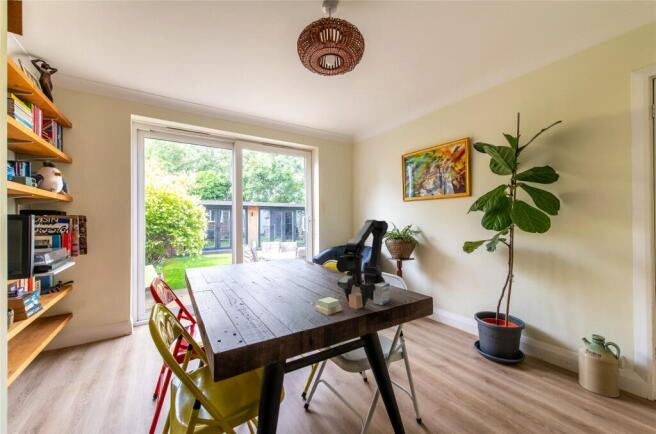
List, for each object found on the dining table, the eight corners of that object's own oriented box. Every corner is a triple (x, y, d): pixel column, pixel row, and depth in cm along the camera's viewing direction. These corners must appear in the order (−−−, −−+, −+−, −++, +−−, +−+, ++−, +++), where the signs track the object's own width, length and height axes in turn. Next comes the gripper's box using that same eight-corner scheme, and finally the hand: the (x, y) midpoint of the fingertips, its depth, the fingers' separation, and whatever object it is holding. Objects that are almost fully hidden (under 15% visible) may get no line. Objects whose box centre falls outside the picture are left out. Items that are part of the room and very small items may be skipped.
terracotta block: (356, 304, 119) (355, 292, 119) (363, 306, 116) (363, 294, 116) (349, 306, 116) (348, 294, 116) (356, 309, 113) (356, 296, 113)
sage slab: (329, 302, 117) (329, 296, 117) (339, 305, 112) (339, 300, 112) (318, 305, 113) (318, 300, 113) (327, 309, 108) (327, 303, 108)
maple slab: (329, 307, 118) (329, 302, 118) (341, 311, 111) (341, 306, 112) (315, 311, 112) (315, 305, 112) (327, 316, 106) (327, 310, 106)
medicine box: (381, 305, 116) (382, 286, 116) (373, 303, 119) (373, 284, 119) (389, 301, 122) (390, 283, 122) (381, 299, 125) (381, 281, 125)
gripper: (328, 269, 118) (329, 303, 118) (358, 274, 104) (359, 313, 104) (345, 265, 125) (346, 298, 125) (375, 270, 111) (376, 307, 111)
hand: (356, 303), depth 116 cm, fingers open, 9 cm apart
